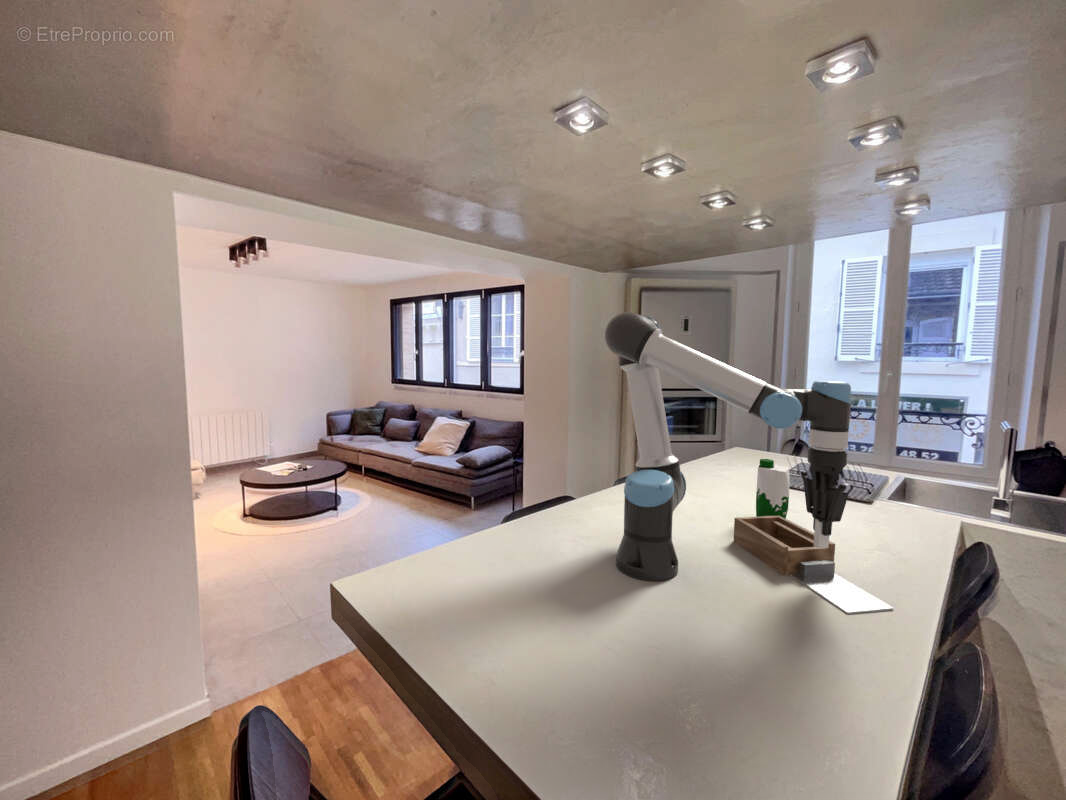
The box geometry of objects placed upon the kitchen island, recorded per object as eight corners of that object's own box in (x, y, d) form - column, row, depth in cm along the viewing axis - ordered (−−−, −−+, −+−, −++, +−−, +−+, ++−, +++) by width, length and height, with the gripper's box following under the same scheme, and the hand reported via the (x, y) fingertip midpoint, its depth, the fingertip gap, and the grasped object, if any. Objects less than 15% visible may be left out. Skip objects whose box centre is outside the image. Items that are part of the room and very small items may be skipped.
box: (781, 574, 108) (783, 547, 107) (733, 541, 128) (734, 517, 127) (833, 571, 110) (835, 543, 109) (777, 538, 130) (779, 515, 129)
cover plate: (847, 616, 91) (848, 596, 91) (788, 576, 108) (789, 559, 108) (893, 612, 93) (894, 592, 93) (828, 573, 110) (829, 556, 109)
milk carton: (758, 515, 149) (761, 456, 147) (789, 521, 144) (792, 460, 142) (752, 523, 142) (755, 461, 140) (784, 529, 137) (788, 465, 135)
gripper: (866, 453, 97) (859, 557, 99) (820, 442, 110) (814, 535, 112) (836, 454, 96) (828, 559, 98) (792, 443, 108) (787, 536, 111)
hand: (821, 546), depth 105 cm, fingers closed
